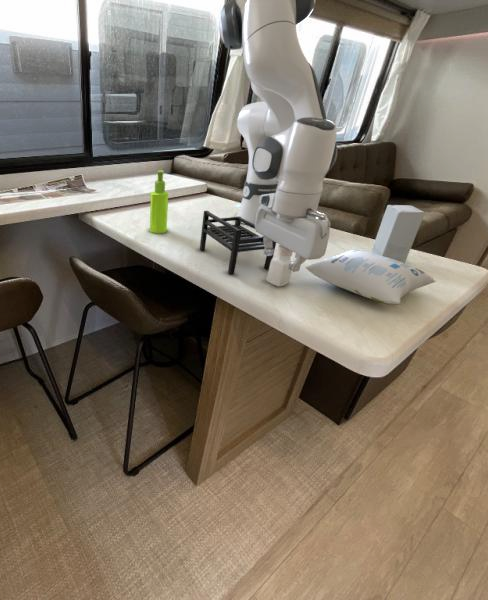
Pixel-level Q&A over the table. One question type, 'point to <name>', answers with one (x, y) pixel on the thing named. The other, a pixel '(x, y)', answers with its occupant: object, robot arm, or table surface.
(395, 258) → the cosmetic box
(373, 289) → the pouch
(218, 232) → the rack
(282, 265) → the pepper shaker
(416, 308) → the table surface
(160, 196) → the soap dispenser
